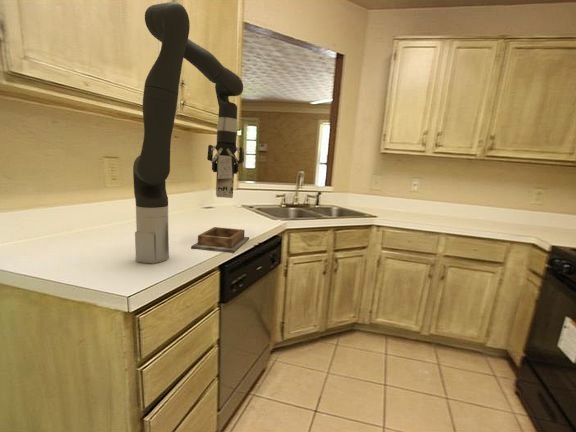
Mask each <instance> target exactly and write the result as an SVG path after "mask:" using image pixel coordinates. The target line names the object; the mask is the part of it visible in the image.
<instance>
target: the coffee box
mask: <svg viewBox="0 0 576 432" xmlns="http://www.w3.org/2000/svg"><path fill="white" fill-rule="evenodd" d="M216 163H217V172H216V175H215V176H216V180H215V181H216V182H215V183H216V184H215V185H216V186H215V196H216V198H227V199H233V197H234V182H235V181H234V180H235V174H234V165H235V156H222V155H218V158H217V162H216Z"/></svg>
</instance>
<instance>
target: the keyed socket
mask: <svg viewBox="0 0 576 432" xmlns="http://www.w3.org/2000/svg"><path fill="white" fill-rule="evenodd" d="M249 240H250V236H245V229H242V228H241V229H239V228H229V227H219V226H214V227H211V228H210V229H208V230H206V231H204V232H202V233H200V234H198V235H197V242H195V243H194V244H192V245H191V246H190V247H191V248H190V249H192V250H198V251H199V250H201V251H210V252H211V251H212V252H219V253H229V254H234V253H235V252H236V251H237V252H238V250H239V249H240V248H241V247H242V246H244V245H245V244H246V243H247V242H249Z"/></svg>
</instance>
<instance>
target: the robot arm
mask: <svg viewBox="0 0 576 432" xmlns="http://www.w3.org/2000/svg"><path fill="white" fill-rule="evenodd" d="M144 22H145V25H146V28H147V30H148V31H149V33H150V34H151V36H153V37H154V39H156V40H157V41H159V42H160V43H161V47H160V51H159V54H158V57H157V58H156V60H155V62H154V64H153V65H152V66H151V68H150V70H149V72H148V74H147V76H146V79H145V82H144V86H143V97H142V117H143V119H142V120H143V128H144V129H143V132H144V133H143V142H142V146H141V151H140V155H138V156H137V157H136V158H135V159H134V162H133V165H132V166H133V168H132V174H133V175H132V176H133V192H134V199H135V222H136V223H135V224H136V226H135V227H136V231H135V232H134V244H135V262H136V263H144V264H151V265H153V264H156V263H162V262H165V261H167V260H169V258H170V247H169V242H170V241H169V240H170V239H169V238H170V237H169V197H168V193H167V189H166V180H167V179H168V177H169V174H170V172H171V141H172V135H173V131H174V125H175V119H176V112H177V106H178V98H179V88H180V80H181V74H182V68H183V63H184V59H185V60H186V61H187V62H189V63H190V64H191V65H192V66H194V68H196V69H197V70H198V71H199V72H200V73H201V74H202V75H203V76H204V77H205V78H206V79H207V80H208V81H209V82H211V83H213V84H215V85H214V88H215V95H216V99H217V104H218V115H217V116H218V117H217V118H218V120H217V124H216V144H215V145H212V144H208V148H207V149H208V150H207V157H206V158H207V160H208V161H210V162H211V171H212V172H213V173H217V158H218V155H222V156H235V165H234V175H238V173H239V171H240V168H239V167H240V164H243V163H244V162H245V148H244V147H237V139H238V138H237V136H238V133H237V132H238V120H237V119H238V106H237V104H236V103H234V102H231V101H230V99H229V97H238V96H241V95H242V94H243V92H244V83H243V81H242V79H241V78H240V76H238V74H237V73H235V72H233V71H232V70H230V69H229V68H227V67H225V66H224V65H223V63H221V62H220V61H219V59H217V57H216V56H215V55H214V54H213V53H211V52H210V51H209V50H208V49H206V48H204V47H203V46H200V45H199V44H197V43H195V42H194V41H192V40H191V39H189V35H190V31H191V30H190V29H191V28H190V27H191V25H190V24H191V23H190V17H189V14H188V12H187V9H186V8H185V7H184V6H183V4H182V3H179V2H176V1H175V2H174V1H167V2H162V3H156V4H152V5H150V6H149V7H148V8H146V10H145V12H144ZM214 151H216V153H215V155H214ZM236 153H239V154H238V157H239V158H238V157H237V156H236Z"/></svg>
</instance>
